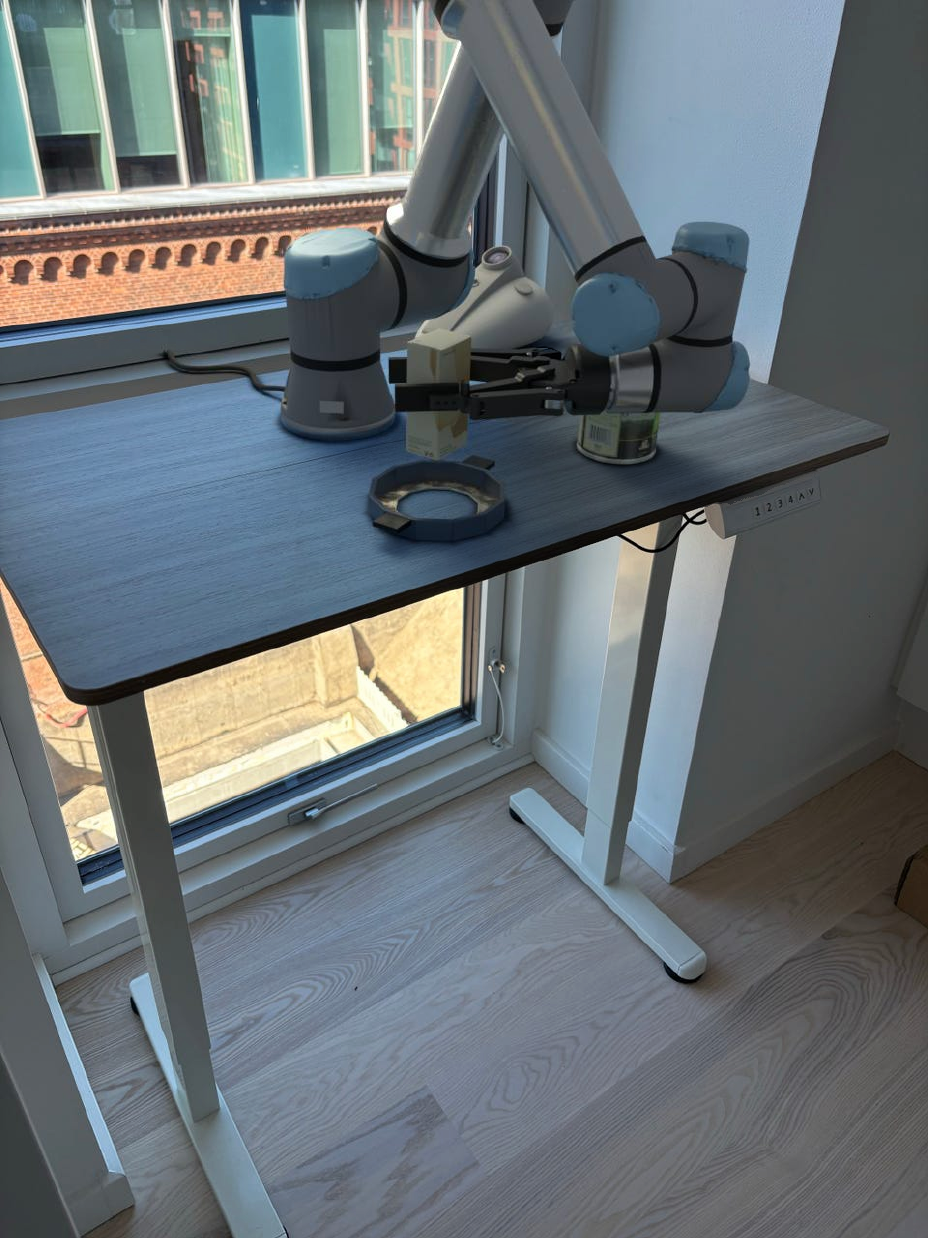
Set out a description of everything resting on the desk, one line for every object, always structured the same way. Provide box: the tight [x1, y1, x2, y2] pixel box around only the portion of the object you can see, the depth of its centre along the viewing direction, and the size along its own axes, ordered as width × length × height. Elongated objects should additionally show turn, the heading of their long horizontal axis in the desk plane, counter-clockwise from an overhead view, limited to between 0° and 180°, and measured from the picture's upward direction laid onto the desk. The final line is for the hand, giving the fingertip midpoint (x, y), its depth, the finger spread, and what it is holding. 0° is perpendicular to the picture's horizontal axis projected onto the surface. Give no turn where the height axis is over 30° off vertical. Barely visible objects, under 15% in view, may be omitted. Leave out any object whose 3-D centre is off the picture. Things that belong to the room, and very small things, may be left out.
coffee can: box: [576, 341, 661, 465], centre depth 121 cm, size 10×10×14 cm
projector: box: [414, 245, 555, 349], centre depth 154 cm, size 22×23×15 cm
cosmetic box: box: [405, 328, 471, 461], centre depth 103 cm, size 6×4×12 cm
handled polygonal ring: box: [368, 454, 506, 542], centre depth 110 cm, size 15×20×2 cm
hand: (392, 383), depth 101 cm, fingers closed on cosmetic box, 7 cm apart
